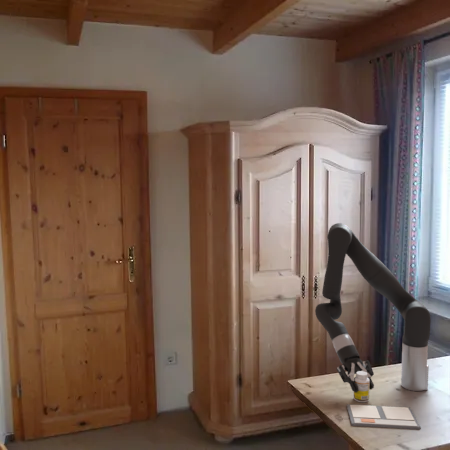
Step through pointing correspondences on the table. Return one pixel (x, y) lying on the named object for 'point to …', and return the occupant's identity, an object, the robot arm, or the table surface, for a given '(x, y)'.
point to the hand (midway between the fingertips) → (364, 390)
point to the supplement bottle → (362, 386)
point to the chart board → (382, 416)
